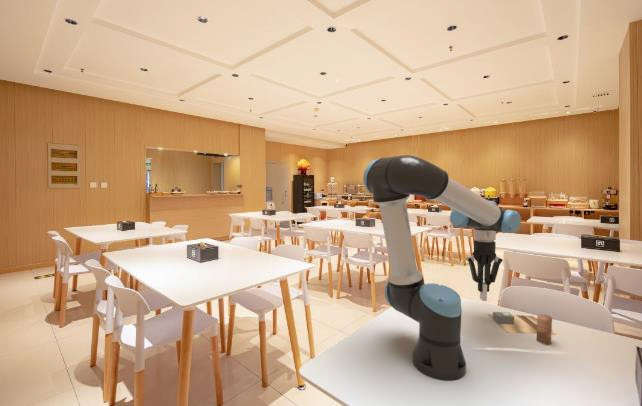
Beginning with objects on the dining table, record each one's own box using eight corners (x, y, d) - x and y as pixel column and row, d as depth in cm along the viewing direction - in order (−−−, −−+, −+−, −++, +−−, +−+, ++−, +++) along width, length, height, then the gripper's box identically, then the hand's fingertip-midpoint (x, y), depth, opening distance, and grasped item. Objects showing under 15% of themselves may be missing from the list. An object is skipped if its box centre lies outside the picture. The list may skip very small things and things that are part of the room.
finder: (497, 323, 118) (497, 315, 117) (492, 319, 122) (493, 311, 121) (513, 324, 117) (514, 316, 117) (508, 319, 121) (508, 312, 121)
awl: (540, 348, 102) (542, 319, 102) (533, 342, 106) (534, 314, 106) (553, 348, 102) (555, 319, 101) (546, 342, 106) (547, 314, 105)
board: (506, 335, 111) (506, 332, 111) (487, 316, 127) (487, 313, 127) (559, 338, 109) (559, 334, 109) (532, 318, 125) (533, 315, 125)
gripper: (470, 242, 115) (469, 302, 117) (507, 242, 114) (505, 303, 115) (463, 238, 123) (462, 295, 124) (497, 238, 121) (496, 296, 123)
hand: (483, 299), depth 120 cm, fingers closed
